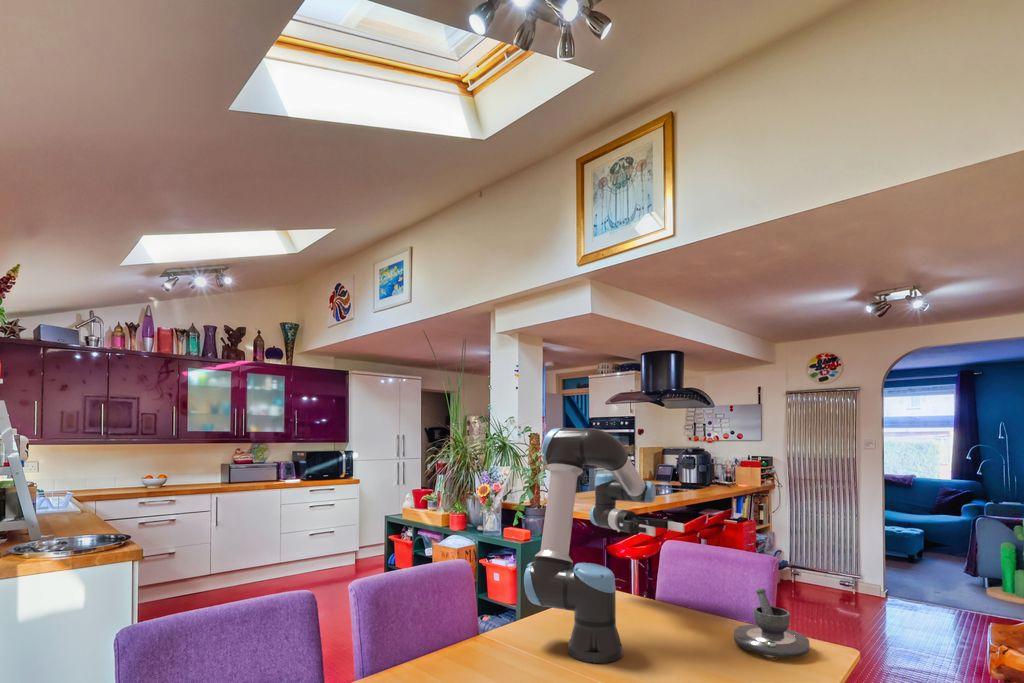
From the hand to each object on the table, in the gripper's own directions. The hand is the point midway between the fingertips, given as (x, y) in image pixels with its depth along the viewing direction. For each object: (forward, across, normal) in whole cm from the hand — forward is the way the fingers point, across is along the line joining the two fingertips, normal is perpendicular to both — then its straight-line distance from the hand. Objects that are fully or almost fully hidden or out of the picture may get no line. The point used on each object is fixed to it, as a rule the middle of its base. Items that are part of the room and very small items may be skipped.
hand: (669, 529), depth 196 cm
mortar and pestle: (+29, -10, -26) cm, 40 cm away
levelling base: (+29, -9, -30) cm, 43 cm away
